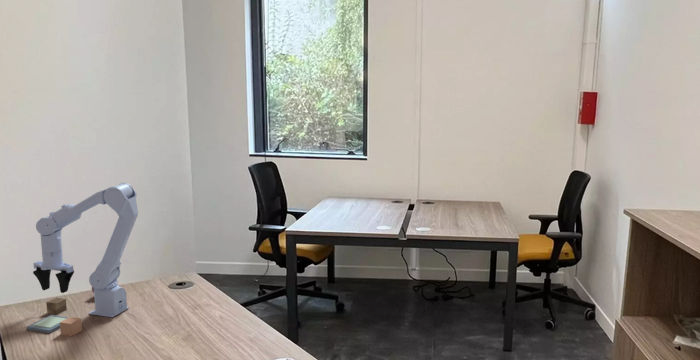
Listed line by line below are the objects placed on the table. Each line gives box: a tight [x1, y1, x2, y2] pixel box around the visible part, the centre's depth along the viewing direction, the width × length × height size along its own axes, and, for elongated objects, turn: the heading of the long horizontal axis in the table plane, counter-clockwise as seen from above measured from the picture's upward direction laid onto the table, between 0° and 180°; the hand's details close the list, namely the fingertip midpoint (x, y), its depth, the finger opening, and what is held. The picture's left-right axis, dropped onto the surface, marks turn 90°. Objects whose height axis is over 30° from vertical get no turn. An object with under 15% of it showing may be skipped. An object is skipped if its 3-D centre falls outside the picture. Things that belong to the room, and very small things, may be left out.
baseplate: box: [26, 314, 70, 334], centre depth 152 cm, size 9×9×1 cm
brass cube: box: [45, 297, 68, 316], centre depth 163 cm, size 4×4×4 cm
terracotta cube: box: [59, 316, 83, 337], centre depth 148 cm, size 4×4×4 cm
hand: (55, 290), depth 162 cm, fingers open, 7 cm apart
